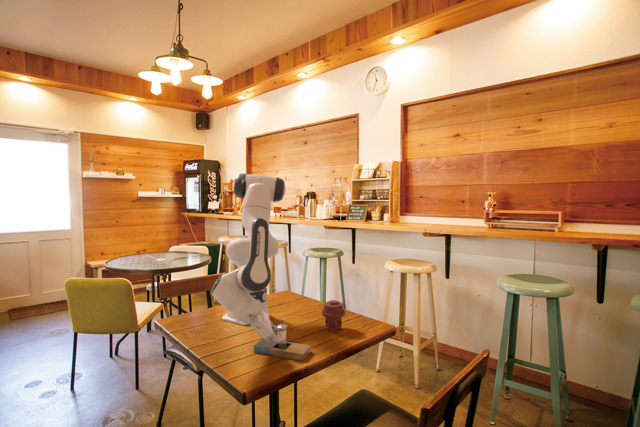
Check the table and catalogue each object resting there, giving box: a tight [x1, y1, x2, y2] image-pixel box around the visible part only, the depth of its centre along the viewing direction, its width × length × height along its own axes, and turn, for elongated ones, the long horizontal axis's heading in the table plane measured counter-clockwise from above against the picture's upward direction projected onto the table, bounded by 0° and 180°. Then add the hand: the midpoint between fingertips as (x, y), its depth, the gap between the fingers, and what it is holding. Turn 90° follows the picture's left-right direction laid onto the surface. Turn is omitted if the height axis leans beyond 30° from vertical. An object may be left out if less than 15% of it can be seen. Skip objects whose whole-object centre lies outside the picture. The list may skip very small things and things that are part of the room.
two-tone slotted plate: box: [253, 338, 312, 362], centre depth 124 cm, size 20×7×2 cm, turn 69°
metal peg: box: [275, 323, 288, 350], centre depth 124 cm, size 4×4×10 cm
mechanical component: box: [321, 299, 346, 333], centre depth 145 cm, size 12×10×10 cm
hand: (276, 334), depth 123 cm, fingers open, 8 cm apart
